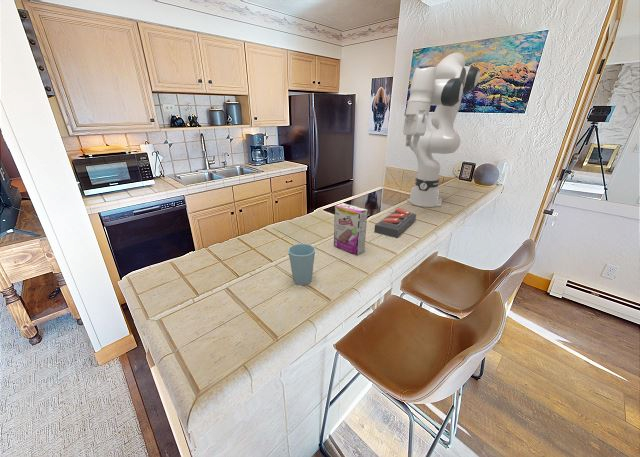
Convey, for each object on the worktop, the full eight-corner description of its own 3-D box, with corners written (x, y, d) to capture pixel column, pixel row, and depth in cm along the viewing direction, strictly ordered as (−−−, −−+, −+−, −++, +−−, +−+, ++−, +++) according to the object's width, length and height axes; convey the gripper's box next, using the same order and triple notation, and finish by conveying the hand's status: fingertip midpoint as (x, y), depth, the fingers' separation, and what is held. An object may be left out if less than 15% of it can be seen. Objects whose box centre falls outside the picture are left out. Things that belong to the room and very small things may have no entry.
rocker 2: (392, 216, 121) (391, 213, 121) (405, 216, 117) (404, 213, 117) (389, 217, 119) (389, 215, 118) (402, 218, 115) (402, 215, 115)
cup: (316, 287, 77) (315, 255, 73) (289, 288, 76) (287, 256, 72) (314, 273, 84) (314, 243, 80) (290, 274, 83) (288, 244, 79)
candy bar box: (332, 246, 101) (333, 205, 94) (341, 242, 104) (342, 202, 98) (357, 256, 94) (359, 212, 87) (365, 251, 97) (368, 209, 91)
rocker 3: (397, 209, 126) (398, 207, 125) (409, 214, 123) (410, 212, 123) (395, 211, 124) (395, 209, 123) (407, 216, 121) (408, 214, 120)
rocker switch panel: (397, 214, 134) (398, 206, 133) (417, 218, 129) (419, 210, 127) (374, 232, 113) (375, 222, 112) (396, 238, 108) (398, 228, 106)
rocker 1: (385, 220, 116) (385, 218, 115) (399, 220, 112) (399, 218, 112) (383, 222, 113) (382, 220, 113) (396, 222, 110) (396, 220, 109)
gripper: (434, 109, 97) (425, 149, 102) (418, 113, 116) (411, 146, 121) (417, 108, 97) (409, 147, 102) (403, 112, 116) (397, 145, 121)
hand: (410, 147), depth 112 cm, fingers open, 8 cm apart
